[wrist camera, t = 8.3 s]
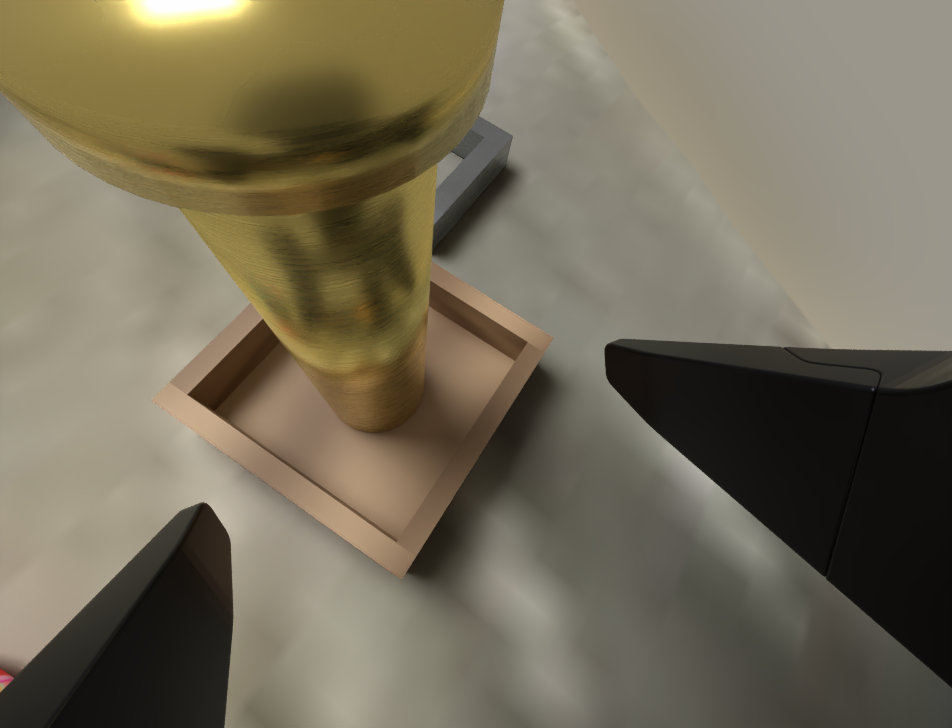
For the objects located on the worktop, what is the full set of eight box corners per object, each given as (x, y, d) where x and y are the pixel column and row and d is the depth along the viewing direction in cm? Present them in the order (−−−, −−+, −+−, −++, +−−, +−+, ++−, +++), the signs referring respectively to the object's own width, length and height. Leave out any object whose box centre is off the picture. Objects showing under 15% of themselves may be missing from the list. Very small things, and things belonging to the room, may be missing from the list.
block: (505, 165, 24) (512, 135, 22) (429, 253, 21) (430, 228, 20) (397, 101, 25) (395, 67, 23) (309, 178, 22) (299, 147, 20)
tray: (535, 362, 20) (553, 338, 17) (403, 571, 16) (401, 579, 14) (356, 248, 21) (347, 209, 18) (191, 419, 17) (150, 400, 15)
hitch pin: (460, 372, 19) (594, -63, 5) (389, 473, 17) (260, 246, 3) (365, 308, 19) (229, -261, 5) (285, 400, 17) (-267, -102, 3)
